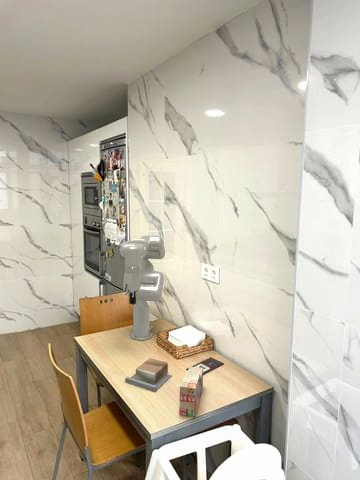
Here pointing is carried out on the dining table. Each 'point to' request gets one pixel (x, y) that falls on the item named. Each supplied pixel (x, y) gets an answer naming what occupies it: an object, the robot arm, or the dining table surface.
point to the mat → (145, 385)
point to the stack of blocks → (191, 391)
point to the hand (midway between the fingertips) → (132, 303)
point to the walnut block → (151, 371)
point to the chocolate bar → (208, 365)
